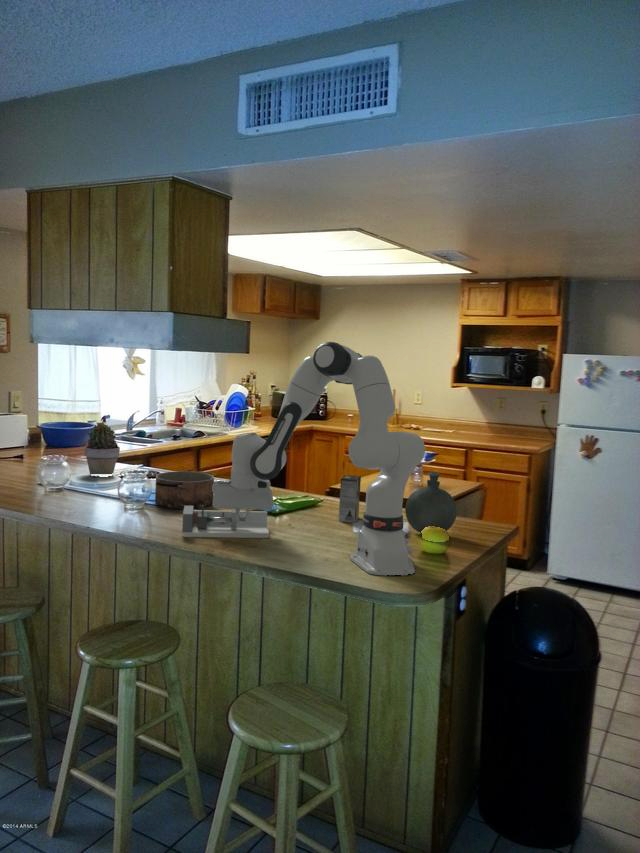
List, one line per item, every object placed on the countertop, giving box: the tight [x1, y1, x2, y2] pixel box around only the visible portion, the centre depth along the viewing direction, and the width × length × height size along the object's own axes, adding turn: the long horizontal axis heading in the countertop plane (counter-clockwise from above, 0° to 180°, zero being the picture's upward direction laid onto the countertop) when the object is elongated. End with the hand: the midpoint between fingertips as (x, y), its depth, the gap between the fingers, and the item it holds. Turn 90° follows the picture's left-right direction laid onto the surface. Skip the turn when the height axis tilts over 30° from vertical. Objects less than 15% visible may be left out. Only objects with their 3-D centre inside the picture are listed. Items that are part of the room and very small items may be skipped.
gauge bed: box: [181, 506, 270, 539], centre depth 230 cm, size 12×28×8 cm, turn 99°
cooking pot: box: [154, 470, 215, 510], centre depth 270 cm, size 30×22×11 cm
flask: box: [404, 471, 458, 534], centre depth 242 cm, size 12×17×22 cm
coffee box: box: [338, 474, 362, 523], centre depth 258 cm, size 9×6×16 cm
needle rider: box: [197, 505, 207, 529], centre depth 229 cm, size 5×3×7 cm, turn 9°
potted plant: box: [83, 422, 121, 475], centre depth 316 cm, size 18×20×25 cm
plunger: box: [207, 509, 236, 529], centre depth 230 cm, size 6×10×5 cm, turn 99°
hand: (242, 521), depth 231 cm, fingers closed
